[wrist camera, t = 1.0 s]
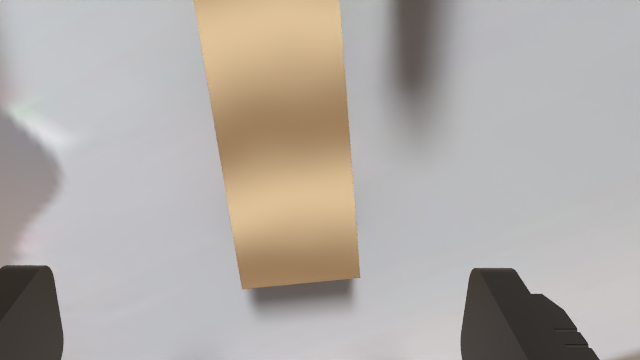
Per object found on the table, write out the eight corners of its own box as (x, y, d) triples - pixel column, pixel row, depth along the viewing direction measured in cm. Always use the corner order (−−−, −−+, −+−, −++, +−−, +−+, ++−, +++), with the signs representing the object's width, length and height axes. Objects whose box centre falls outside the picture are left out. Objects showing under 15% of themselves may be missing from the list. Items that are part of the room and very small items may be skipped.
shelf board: (200, -70, 23) (181, -70, 19) (327, -83, 23) (333, -85, 19) (249, 243, 29) (241, 289, 25) (352, 233, 29) (360, 277, 25)
